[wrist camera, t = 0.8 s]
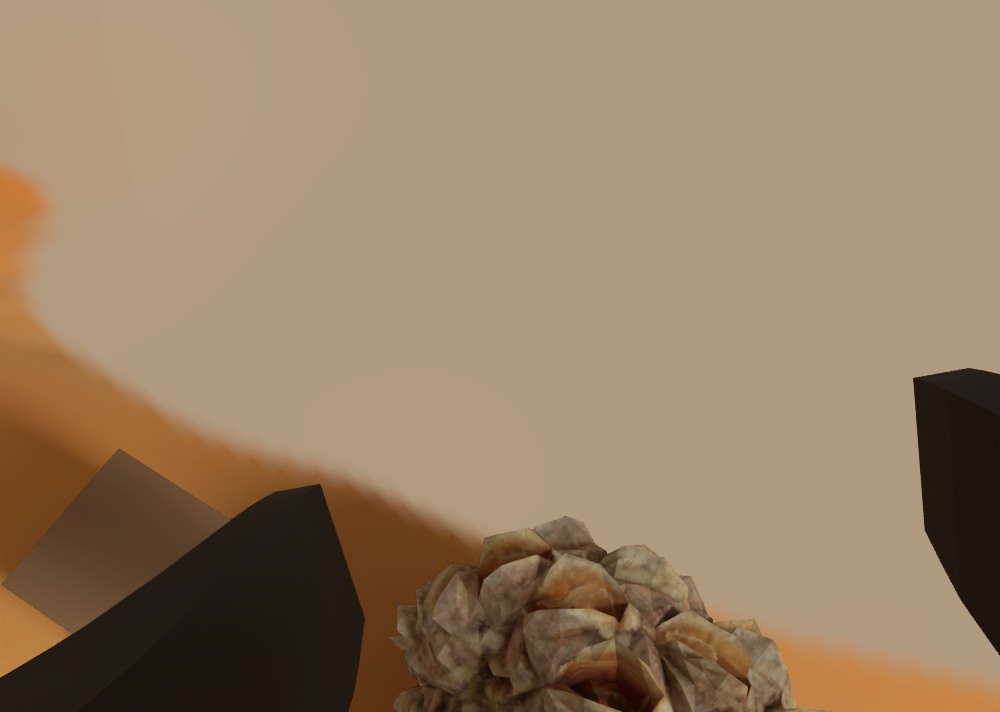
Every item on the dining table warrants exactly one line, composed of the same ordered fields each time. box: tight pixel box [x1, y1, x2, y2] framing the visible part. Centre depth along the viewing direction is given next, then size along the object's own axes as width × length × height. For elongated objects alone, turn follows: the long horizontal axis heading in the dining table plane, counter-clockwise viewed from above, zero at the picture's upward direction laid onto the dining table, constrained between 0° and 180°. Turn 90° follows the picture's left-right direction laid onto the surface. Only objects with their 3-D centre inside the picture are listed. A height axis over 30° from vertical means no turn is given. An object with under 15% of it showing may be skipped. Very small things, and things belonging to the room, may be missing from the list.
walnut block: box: [1, 449, 230, 634], centre depth 24 cm, size 4×4×5 cm
